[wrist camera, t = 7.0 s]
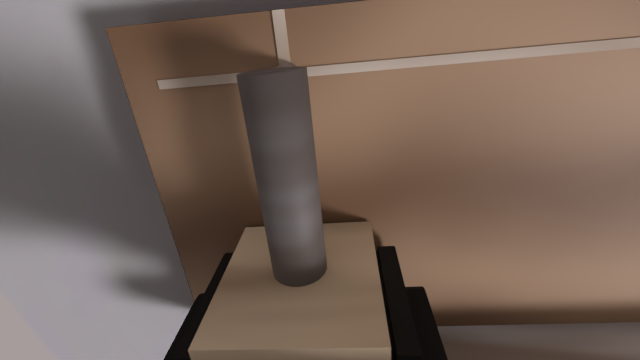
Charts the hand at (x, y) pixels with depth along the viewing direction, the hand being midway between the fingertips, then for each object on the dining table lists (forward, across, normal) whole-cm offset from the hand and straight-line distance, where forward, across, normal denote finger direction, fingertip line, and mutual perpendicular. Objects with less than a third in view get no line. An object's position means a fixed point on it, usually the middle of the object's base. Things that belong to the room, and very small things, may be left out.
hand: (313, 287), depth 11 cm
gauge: (0, 0, -2) cm, 2 cm away
